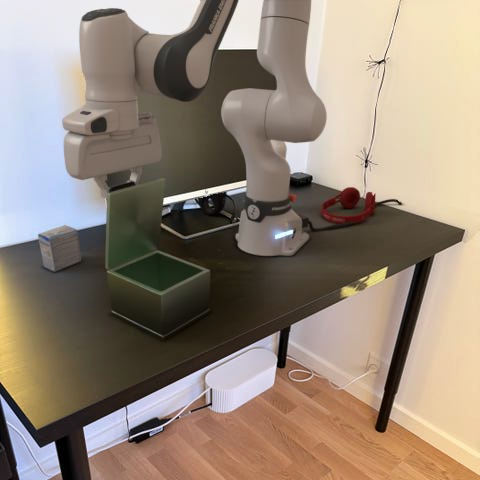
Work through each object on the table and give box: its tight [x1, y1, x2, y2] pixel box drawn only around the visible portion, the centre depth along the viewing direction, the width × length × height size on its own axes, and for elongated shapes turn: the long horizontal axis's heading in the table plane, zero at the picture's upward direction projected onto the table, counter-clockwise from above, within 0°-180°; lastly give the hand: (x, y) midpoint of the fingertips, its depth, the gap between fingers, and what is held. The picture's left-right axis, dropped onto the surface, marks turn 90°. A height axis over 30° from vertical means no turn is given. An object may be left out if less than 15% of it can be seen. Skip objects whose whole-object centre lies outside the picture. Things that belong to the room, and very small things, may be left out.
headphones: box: [321, 186, 376, 224], centre depth 157 cm, size 15×7×20 cm
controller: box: [197, 191, 228, 216], centre depth 151 cm, size 4×12×10 cm, turn 53°
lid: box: [104, 177, 167, 271], centre depth 95 cm, size 16×14×5 cm
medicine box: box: [37, 224, 82, 273], centre depth 116 cm, size 8×4×9 cm, turn 145°
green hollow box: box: [106, 249, 211, 341], centre depth 98 cm, size 15×14×10 cm
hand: (120, 193), depth 93 cm, fingers closed on lid, 5 cm apart
